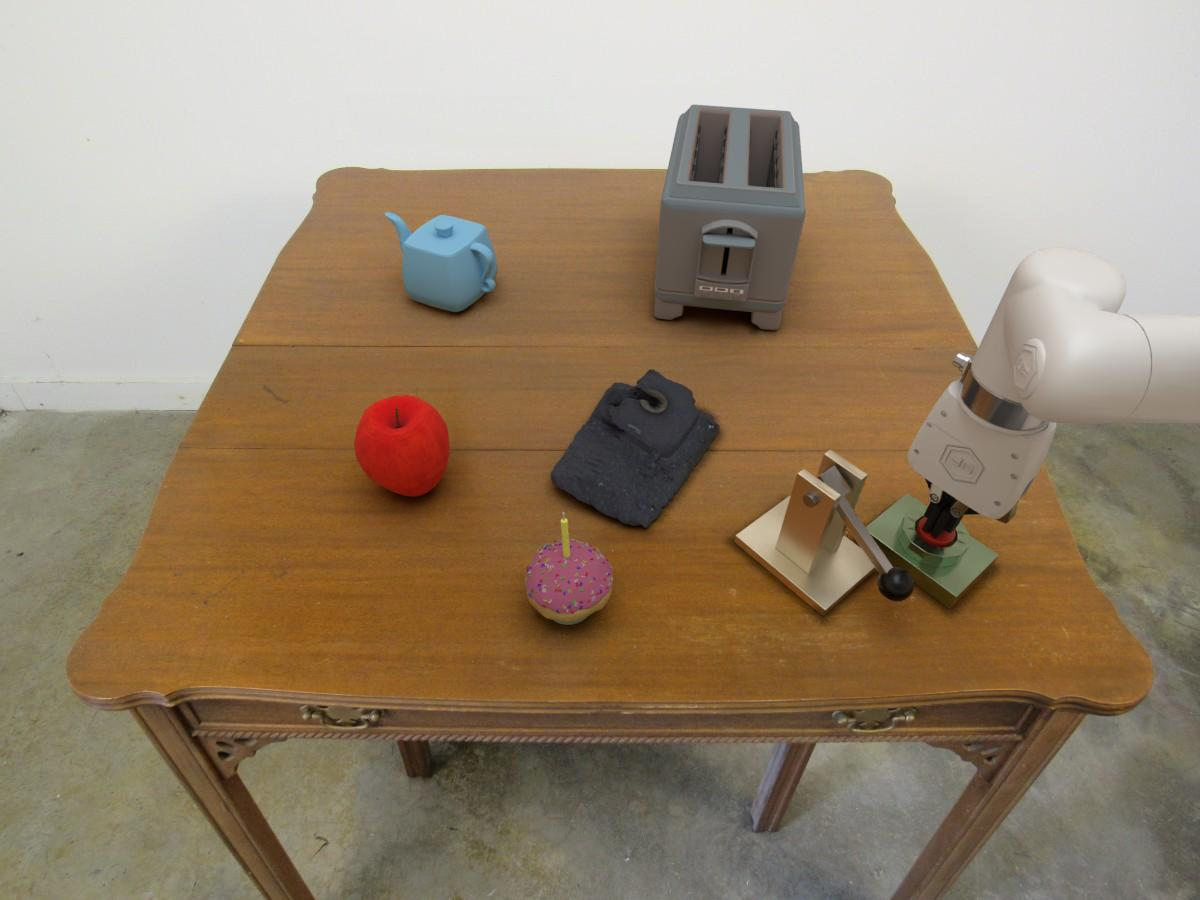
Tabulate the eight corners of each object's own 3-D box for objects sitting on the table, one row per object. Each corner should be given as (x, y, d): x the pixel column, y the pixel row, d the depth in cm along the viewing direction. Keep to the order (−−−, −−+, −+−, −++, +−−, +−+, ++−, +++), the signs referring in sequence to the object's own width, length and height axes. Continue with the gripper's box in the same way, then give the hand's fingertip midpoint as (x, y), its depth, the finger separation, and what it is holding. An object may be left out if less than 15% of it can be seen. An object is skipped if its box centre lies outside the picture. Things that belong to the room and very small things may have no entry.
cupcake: (521, 578, 76) (512, 502, 67) (601, 562, 77) (602, 486, 69) (536, 651, 70) (528, 578, 62) (622, 633, 72) (626, 559, 63)
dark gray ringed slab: (528, 486, 85) (525, 458, 81) (621, 380, 98) (622, 352, 95) (646, 541, 80) (648, 512, 76) (727, 420, 93) (732, 392, 90)
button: (956, 541, 77) (962, 530, 75) (937, 559, 75) (943, 548, 74) (926, 520, 79) (931, 509, 77) (906, 537, 77) (912, 526, 76)
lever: (903, 592, 71) (927, 586, 69) (884, 610, 70) (907, 605, 67) (820, 471, 73) (840, 461, 70) (799, 486, 71) (819, 477, 69)
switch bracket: (877, 569, 77) (915, 488, 68) (822, 616, 73) (856, 537, 64) (788, 501, 84) (812, 419, 75) (733, 542, 80) (752, 459, 70)
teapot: (421, 257, 119) (408, 189, 111) (517, 284, 114) (512, 215, 106) (373, 296, 112) (356, 226, 103) (474, 327, 106) (465, 256, 98)
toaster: (648, 335, 105) (658, 200, 91) (670, 221, 128) (680, 99, 114) (780, 349, 103) (811, 213, 89) (778, 230, 127) (802, 107, 112)
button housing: (990, 567, 78) (1006, 544, 75) (948, 609, 74) (963, 586, 71) (901, 505, 83) (912, 481, 81) (858, 541, 80) (868, 517, 77)
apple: (355, 511, 82) (327, 433, 73) (388, 449, 89) (366, 370, 80) (441, 524, 81) (424, 446, 72) (468, 460, 88) (454, 381, 79)
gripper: (908, 366, 65) (854, 502, 78) (1075, 462, 57) (984, 595, 70) (955, 334, 68) (896, 469, 81) (1118, 420, 60) (1024, 554, 73)
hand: (936, 527), depth 76 cm, fingers closed
